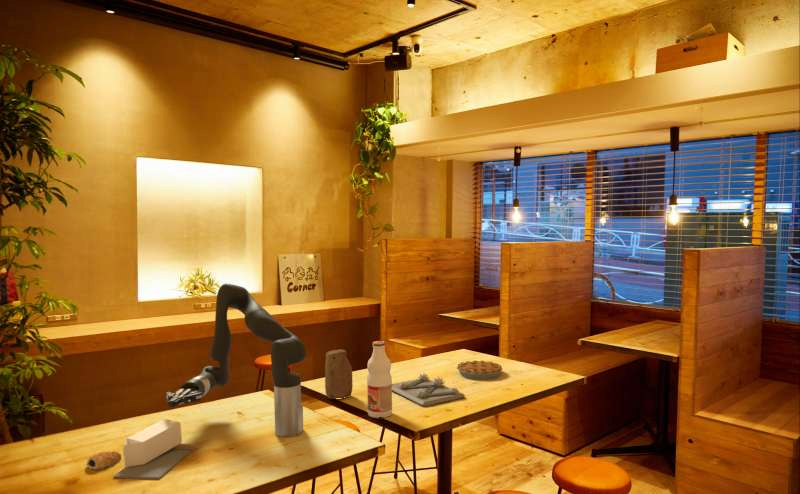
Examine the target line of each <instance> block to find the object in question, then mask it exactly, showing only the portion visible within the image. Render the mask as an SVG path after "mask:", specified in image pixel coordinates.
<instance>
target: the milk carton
mask: <svg viewBox="0 0 800 494" xmlns="http://www.w3.org/2000/svg"><path fill="white" fill-rule="evenodd" d="M181 427H182V425H181V421H176V420H171V419H168V418H167V419H166V418H163V419H161V420H160V421H158V422H155V423H154V424H152V425H150V426H148V427H146V428H144V429H142V430H140V431H137V432H136V433H134V434H132V435H130V436H128V437H127V438H125V439H126V441H125V442H126V444H124V445H122V448H123V449H122V456H123V460H124V461H123V462H124V468H127V467H130V466H136V465H143V464H146V463H147V462H149V461H151V460H153V459H154V458H156V457H158V456H160V455H161V454H163V453H165V452H166V451H168V450H170V449H172V448H173V447H175V446H177V445H179V444H183V441H182V439H183V437H182V428H181Z"/></svg>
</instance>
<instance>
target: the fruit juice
mask: <svg viewBox="0 0 800 494" xmlns="http://www.w3.org/2000/svg"><path fill="white" fill-rule="evenodd" d="M385 347H386V342H385V341H384V340H382V341H381V340H376V341H372V348H373V350H372V354H371V357H370V358H369V359H368V361H367V366H366V367H367V371H368V375H367V379H366V380H367V381H366V382H367V383H366V386H367V389H366V390H367V393H366V394H367V414H368V416H369V417H371V418H374V419H380V418H379V417H385V418H388V417H387V416H389V417H391V415H392V414H393V391H392V384H393V382H392V380H393V379H392V374H391V370H392V361H391V359H389V357H388V356H387V353H386V350H385V349H386V348H385Z"/></svg>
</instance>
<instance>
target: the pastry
mask: <svg viewBox="0 0 800 494" xmlns="http://www.w3.org/2000/svg"><path fill="white" fill-rule="evenodd" d="M120 460H122V454H121V452H118V451H111V452H110V451H107V452H99V453H98V454H93V455H92V456H90V457H89V458H88V460H87V461H86V466H87V468H88V469H91V470H95V471H101V470H103V469H104V470H105V468H107V467H108V468H110V467H111V466H113V465H115V464H117V463H118V461H119V462H120Z"/></svg>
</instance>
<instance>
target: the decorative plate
mask: <svg viewBox="0 0 800 494" xmlns="http://www.w3.org/2000/svg"><path fill="white" fill-rule="evenodd" d="M417 378H418V379H417ZM417 378H416V379H412V380H408V381H407V380H405V381H400V382H396V383H392V393H395V394H397V395H399V396H401V397H404V398H405V399H407V400H410V401H412V402H413V403H416V404H417V405H420V406H422V407H423V408H425V407H430V406H435V405H439V404H443V403H447V402H448V403H449V402H452V401H456V400H457V401H458V400H462V399H464V398H466V397H465V396H466V395H465V394H464V393H463V392H460V390H459V389H458V388H457V387H456V386H453V387H449V386H446V385H444V384H445V383H446V381H445V380H444V378H443V377H441V376H440V377H433V378H432V379H430V377H429V376H428V373H419V375H418V376H417ZM443 380H444V381H443Z"/></svg>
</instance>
